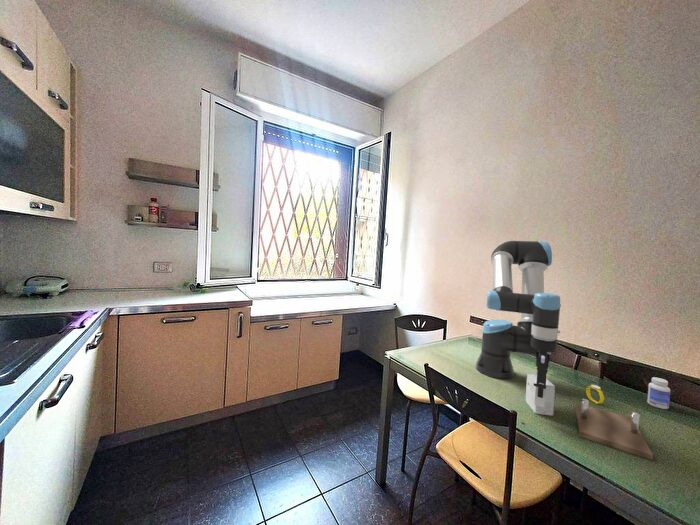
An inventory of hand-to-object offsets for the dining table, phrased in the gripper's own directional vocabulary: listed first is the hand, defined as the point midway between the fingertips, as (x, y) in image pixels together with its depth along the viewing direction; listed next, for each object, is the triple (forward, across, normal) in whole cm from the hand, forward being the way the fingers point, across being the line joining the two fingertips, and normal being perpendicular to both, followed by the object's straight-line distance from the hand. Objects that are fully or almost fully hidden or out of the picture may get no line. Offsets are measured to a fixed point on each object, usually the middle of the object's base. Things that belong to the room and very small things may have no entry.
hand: (539, 397), depth 96 cm
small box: (+4, 0, 0) cm, 4 cm away
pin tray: (+4, 0, -18) cm, 18 cm away
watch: (+4, +19, -17) cm, 26 cm away
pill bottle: (+4, +31, -36) cm, 48 cm away
